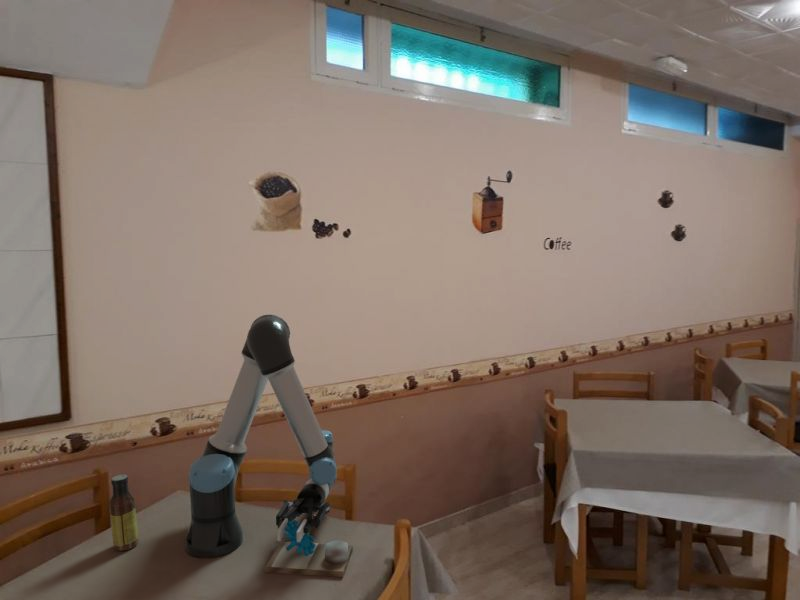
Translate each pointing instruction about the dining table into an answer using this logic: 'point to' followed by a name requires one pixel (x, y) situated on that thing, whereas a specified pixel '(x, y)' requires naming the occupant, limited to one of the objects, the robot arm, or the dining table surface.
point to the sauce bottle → (123, 515)
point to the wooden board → (311, 560)
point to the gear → (305, 541)
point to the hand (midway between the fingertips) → (288, 536)
